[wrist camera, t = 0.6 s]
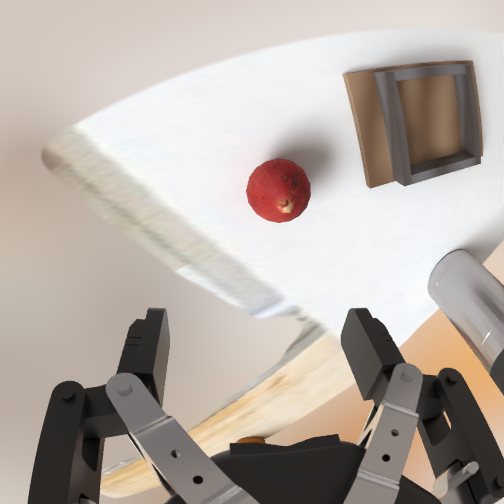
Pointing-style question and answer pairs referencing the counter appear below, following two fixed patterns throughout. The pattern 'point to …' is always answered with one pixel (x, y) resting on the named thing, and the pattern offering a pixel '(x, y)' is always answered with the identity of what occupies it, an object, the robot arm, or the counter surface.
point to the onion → (278, 190)
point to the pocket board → (416, 120)
